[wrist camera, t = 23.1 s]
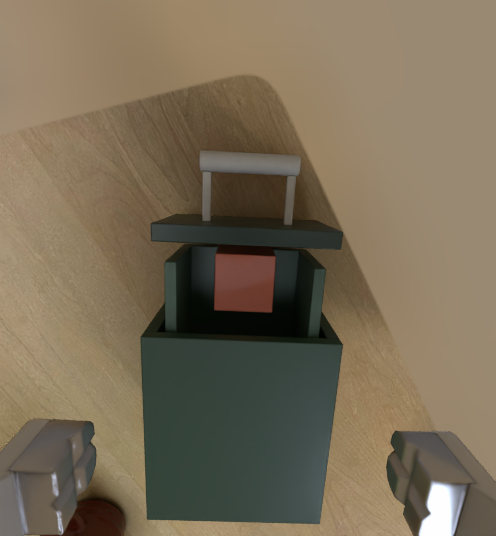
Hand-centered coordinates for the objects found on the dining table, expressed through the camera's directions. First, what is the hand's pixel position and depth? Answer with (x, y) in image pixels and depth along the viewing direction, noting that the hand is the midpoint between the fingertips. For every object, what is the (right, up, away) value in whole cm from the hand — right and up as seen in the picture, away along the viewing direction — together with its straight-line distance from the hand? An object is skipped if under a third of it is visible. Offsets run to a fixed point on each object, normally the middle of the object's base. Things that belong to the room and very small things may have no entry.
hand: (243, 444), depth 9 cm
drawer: (0, +5, +21) cm, 21 cm away
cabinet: (-1, -5, +24) cm, 25 cm away
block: (0, +5, +20) cm, 20 cm away
